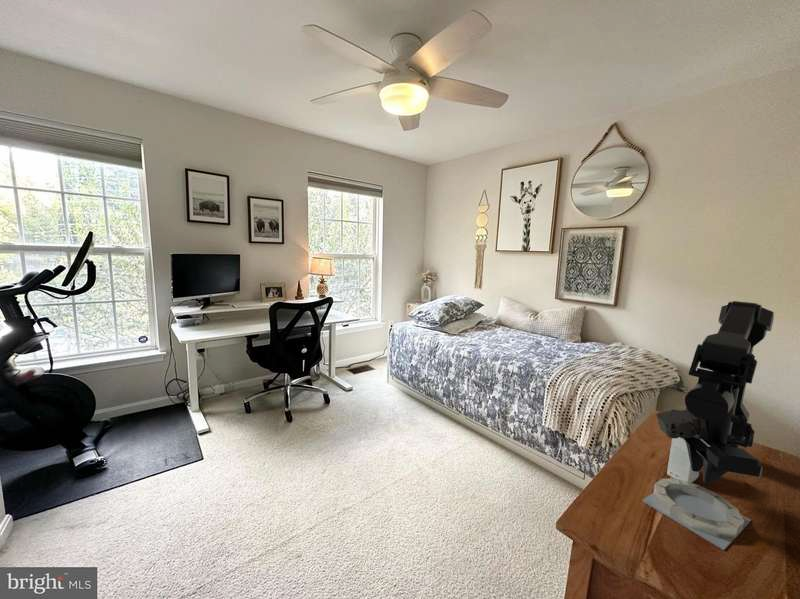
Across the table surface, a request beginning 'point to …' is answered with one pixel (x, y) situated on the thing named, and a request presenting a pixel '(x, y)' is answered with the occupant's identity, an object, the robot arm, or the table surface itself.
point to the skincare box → (680, 462)
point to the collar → (702, 524)
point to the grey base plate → (698, 509)
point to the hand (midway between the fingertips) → (700, 477)
